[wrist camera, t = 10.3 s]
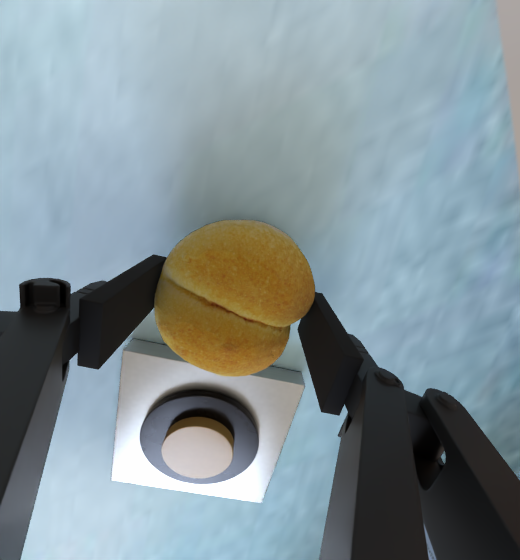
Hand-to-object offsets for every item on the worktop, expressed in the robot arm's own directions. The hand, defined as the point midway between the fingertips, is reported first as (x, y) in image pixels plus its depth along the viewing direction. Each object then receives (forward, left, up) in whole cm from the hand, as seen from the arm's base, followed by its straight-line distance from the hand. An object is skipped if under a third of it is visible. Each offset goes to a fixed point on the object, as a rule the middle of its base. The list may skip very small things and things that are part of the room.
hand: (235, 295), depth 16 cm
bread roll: (0, 0, 0) cm, 0 cm away
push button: (0, -13, -2) cm, 13 cm away
